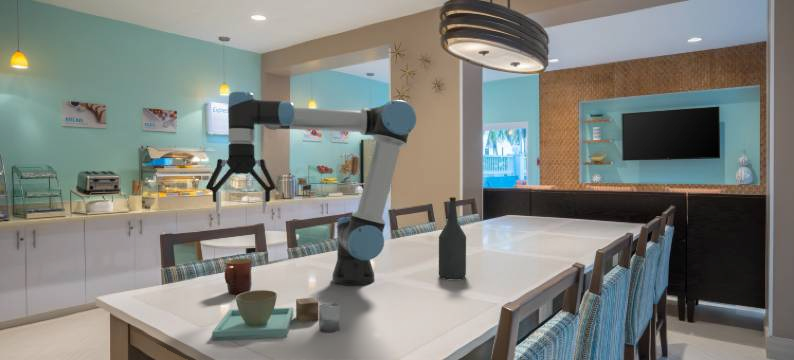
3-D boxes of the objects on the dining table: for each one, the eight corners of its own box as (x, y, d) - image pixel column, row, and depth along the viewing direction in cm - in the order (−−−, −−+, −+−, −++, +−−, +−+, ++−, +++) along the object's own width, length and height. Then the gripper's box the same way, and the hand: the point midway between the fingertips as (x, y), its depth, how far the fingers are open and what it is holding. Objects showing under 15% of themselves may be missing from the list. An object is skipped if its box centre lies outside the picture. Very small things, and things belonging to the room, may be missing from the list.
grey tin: (339, 325, 116) (339, 302, 116) (339, 332, 111) (339, 308, 111) (319, 326, 116) (319, 303, 116) (318, 333, 111) (318, 309, 111)
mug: (234, 288, 153) (234, 257, 153) (258, 289, 151) (258, 259, 151) (213, 297, 141) (213, 265, 141) (239, 299, 139) (238, 266, 139)
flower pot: (241, 317, 120) (241, 290, 120) (280, 316, 121) (280, 289, 121) (230, 330, 110) (230, 301, 110) (272, 329, 111) (272, 300, 111)
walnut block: (314, 315, 125) (314, 297, 125) (318, 320, 120) (318, 302, 120) (296, 317, 123) (296, 299, 123) (299, 323, 118) (299, 304, 118)
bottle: (470, 276, 172) (470, 197, 171) (459, 281, 163) (459, 198, 163) (445, 272, 177) (446, 196, 176) (433, 277, 169) (434, 197, 168)
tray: (293, 314, 125) (293, 307, 125) (286, 337, 108) (286, 328, 108) (229, 317, 123) (229, 309, 123) (212, 340, 106) (212, 331, 106)
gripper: (284, 144, 144) (284, 211, 145) (202, 143, 141) (202, 211, 141) (281, 143, 137) (282, 213, 137) (194, 142, 133) (195, 214, 134)
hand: (241, 212), depth 139 cm, fingers open, 13 cm apart
